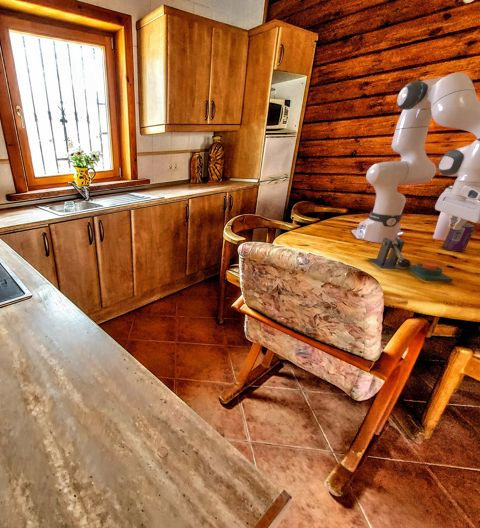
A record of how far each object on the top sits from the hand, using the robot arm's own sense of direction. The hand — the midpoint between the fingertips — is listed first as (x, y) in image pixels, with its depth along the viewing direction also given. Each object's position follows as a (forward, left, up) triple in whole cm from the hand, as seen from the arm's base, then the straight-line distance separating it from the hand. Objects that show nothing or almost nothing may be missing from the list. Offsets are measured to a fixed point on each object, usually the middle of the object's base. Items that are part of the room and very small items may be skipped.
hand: (453, 228), depth 100 cm
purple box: (-32, +26, -19) cm, 46 cm away
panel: (+1, -3, -19) cm, 19 cm away
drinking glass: (-47, +30, -19) cm, 59 cm away
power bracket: (-8, -12, -19) cm, 24 cm away
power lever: (-4, -12, -13) cm, 18 cm away
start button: (+1, -3, -16) cm, 16 cm away
